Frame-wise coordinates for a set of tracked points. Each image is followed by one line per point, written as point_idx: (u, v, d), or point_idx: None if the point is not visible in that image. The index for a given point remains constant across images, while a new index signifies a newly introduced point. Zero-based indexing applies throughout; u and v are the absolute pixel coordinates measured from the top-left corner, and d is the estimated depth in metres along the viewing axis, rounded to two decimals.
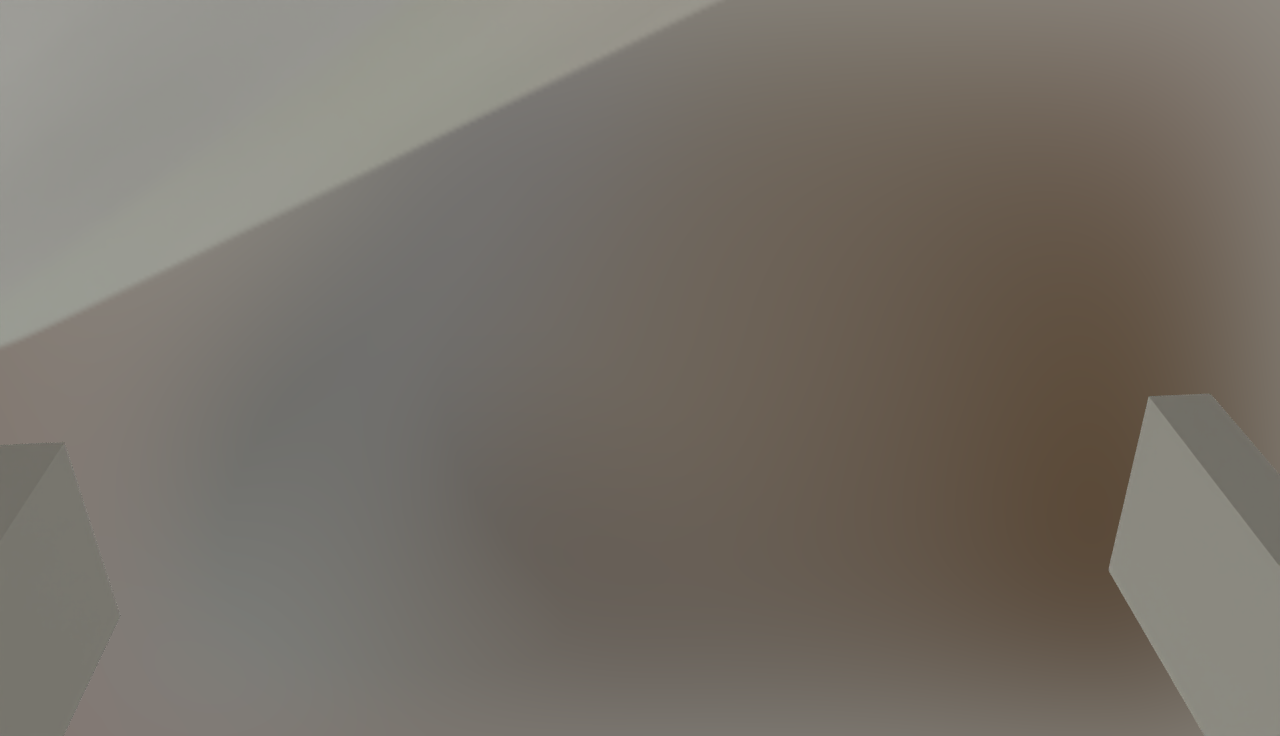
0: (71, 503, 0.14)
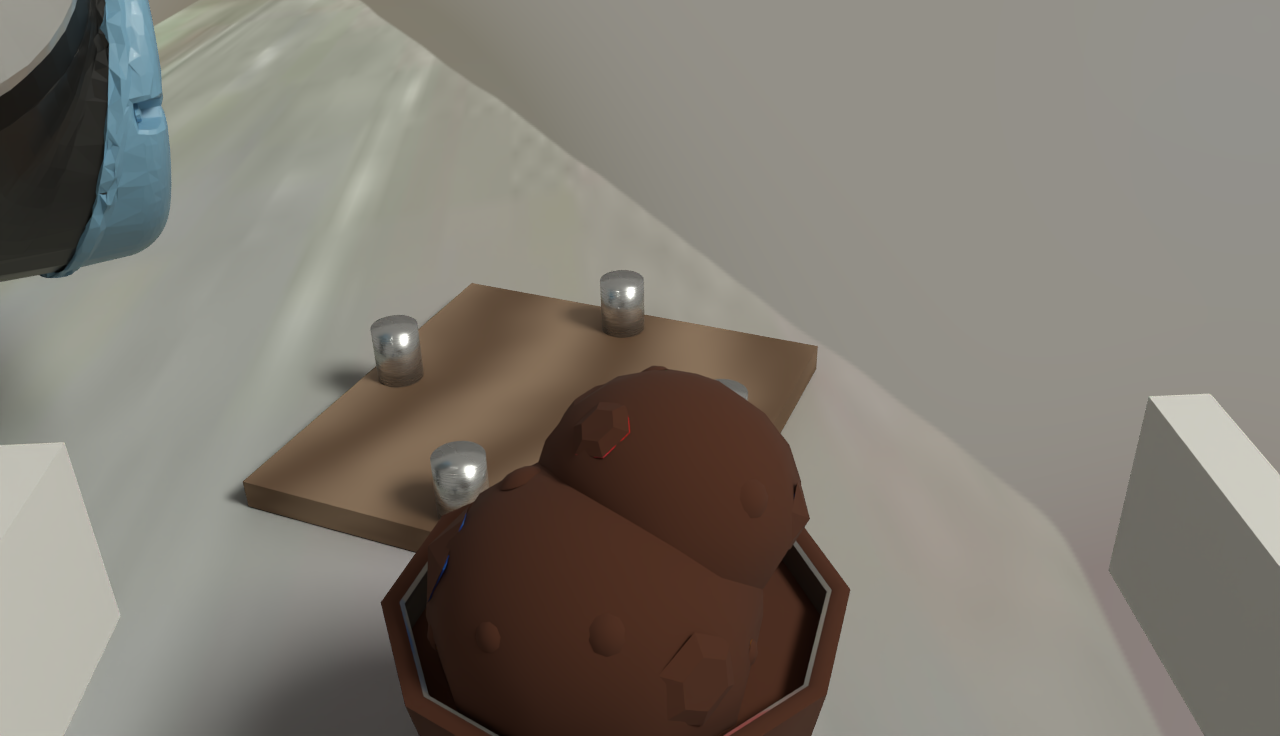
0: (71, 502, 0.14)
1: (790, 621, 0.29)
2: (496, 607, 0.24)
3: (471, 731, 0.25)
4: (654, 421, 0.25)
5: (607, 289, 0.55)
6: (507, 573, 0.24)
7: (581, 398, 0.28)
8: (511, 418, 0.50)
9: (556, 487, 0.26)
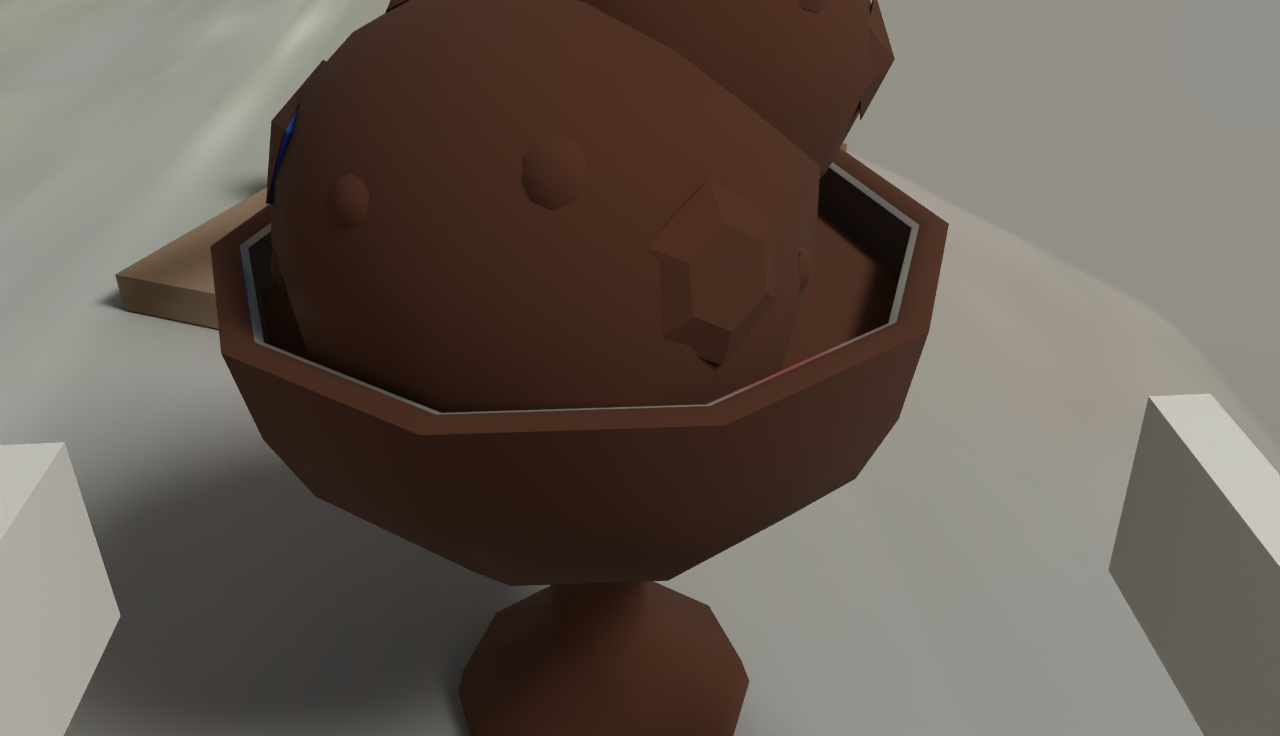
0: (71, 503, 0.14)
1: (855, 275, 0.18)
2: (361, 146, 0.14)
3: (327, 377, 0.14)
4: None
5: None
6: (382, 90, 0.14)
7: None
8: None
9: None
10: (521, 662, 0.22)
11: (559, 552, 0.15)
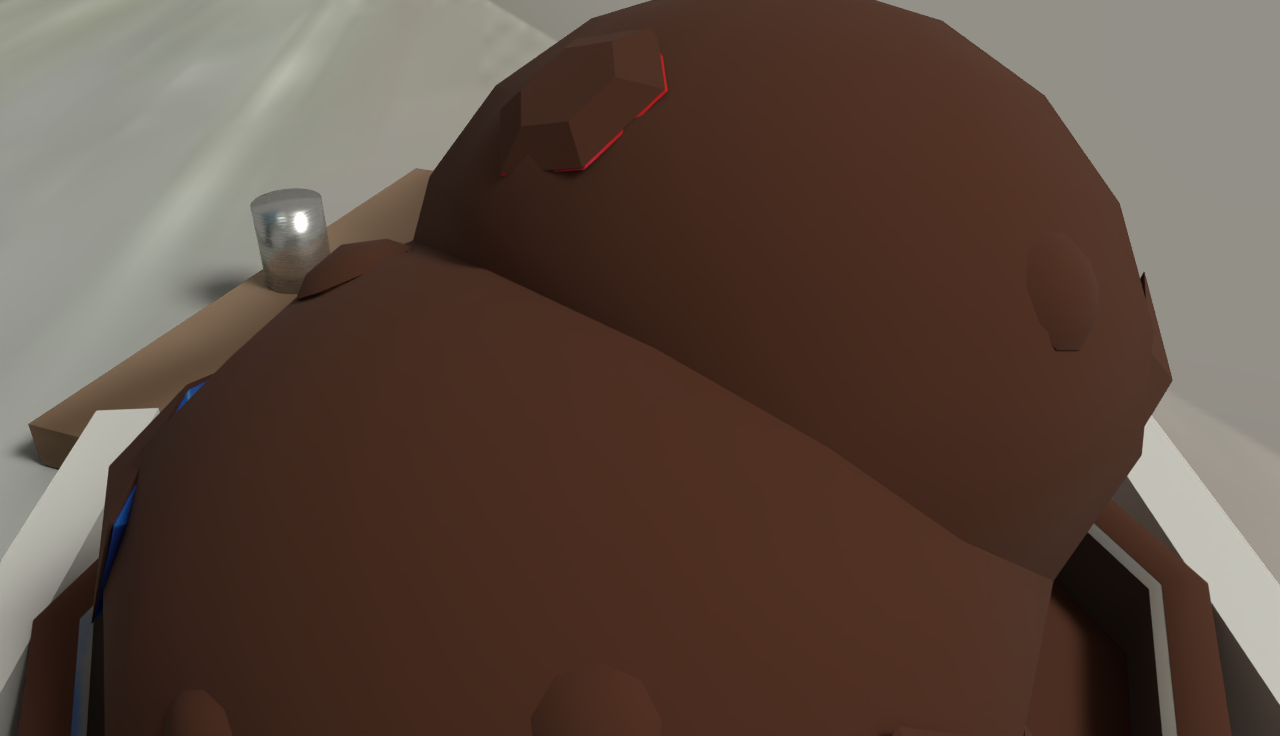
0: None
1: (1058, 663, 0.11)
2: (221, 642, 0.07)
3: None
4: (742, 57, 0.08)
5: None
6: (263, 528, 0.07)
7: None
8: None
9: (446, 274, 0.08)
10: None
11: None
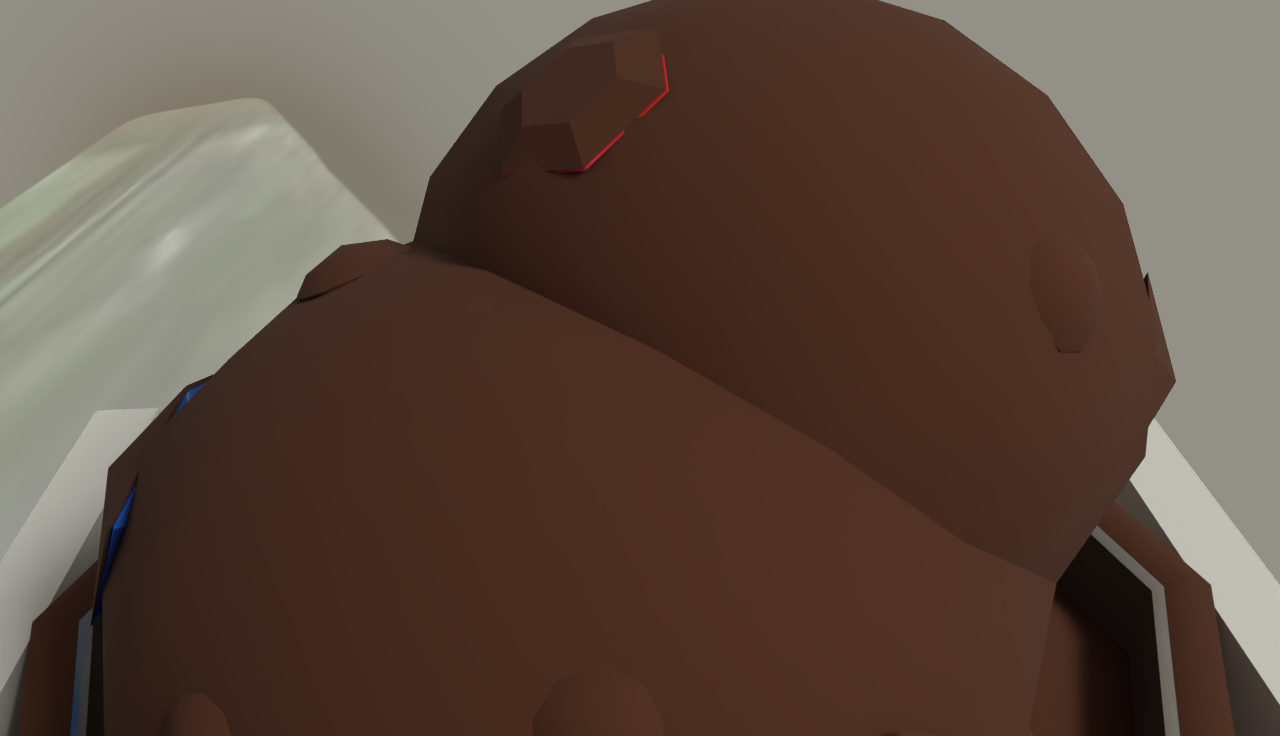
0: None
1: (1060, 664, 0.11)
2: (220, 643, 0.07)
3: None
4: (745, 57, 0.08)
5: None
6: (263, 532, 0.07)
7: None
8: None
9: (447, 275, 0.08)
10: None
11: None
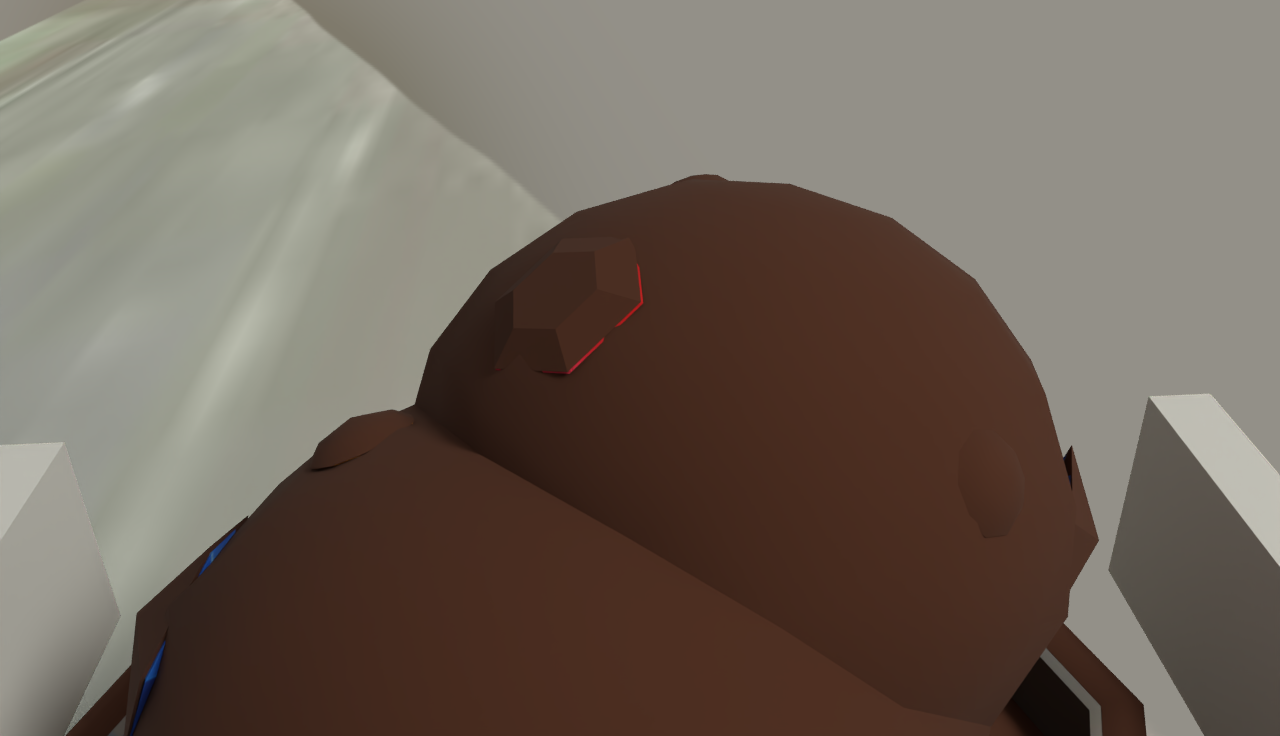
0: (71, 502, 0.14)
1: None
2: None
3: None
4: (709, 273, 0.09)
5: None
6: (285, 706, 0.08)
7: None
8: None
9: (446, 459, 0.09)
10: None
11: None
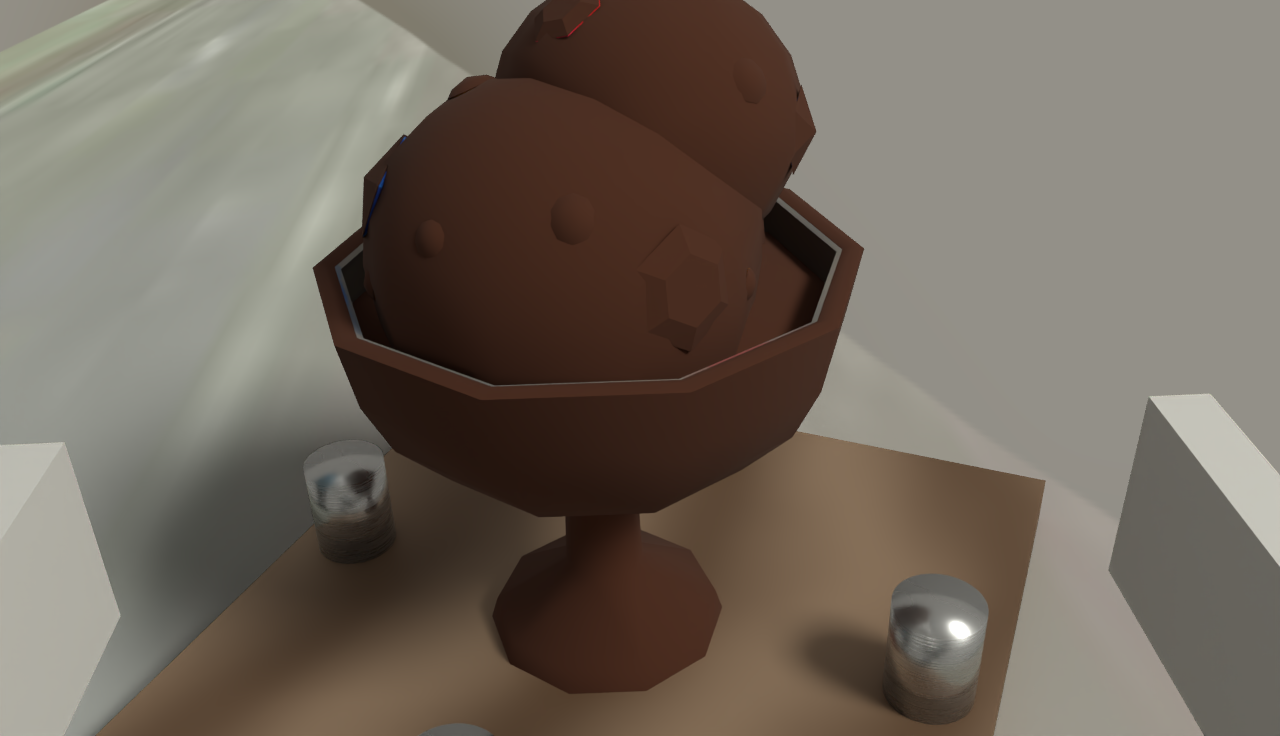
0: (72, 502, 0.14)
1: (794, 287, 0.24)
2: (438, 200, 0.20)
3: (412, 362, 0.21)
4: None
5: None
6: (452, 161, 0.20)
7: None
8: None
9: (514, 80, 0.21)
10: (542, 590, 0.28)
11: (575, 486, 0.21)
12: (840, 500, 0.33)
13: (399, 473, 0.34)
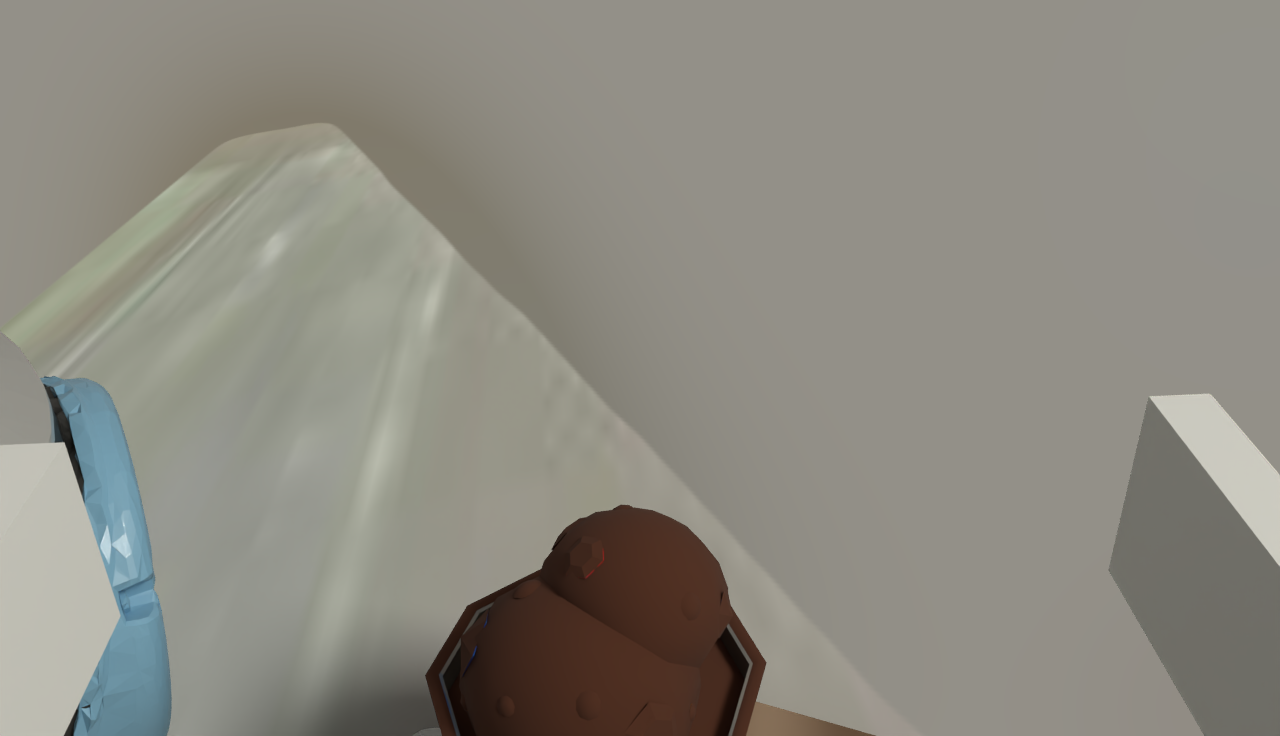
0: (72, 503, 0.14)
1: (723, 686, 0.39)
2: (511, 685, 0.35)
3: None
4: (621, 552, 0.36)
5: None
6: (519, 661, 0.35)
7: (570, 528, 0.38)
8: None
9: (553, 598, 0.36)
10: None
11: None
12: None
13: None
